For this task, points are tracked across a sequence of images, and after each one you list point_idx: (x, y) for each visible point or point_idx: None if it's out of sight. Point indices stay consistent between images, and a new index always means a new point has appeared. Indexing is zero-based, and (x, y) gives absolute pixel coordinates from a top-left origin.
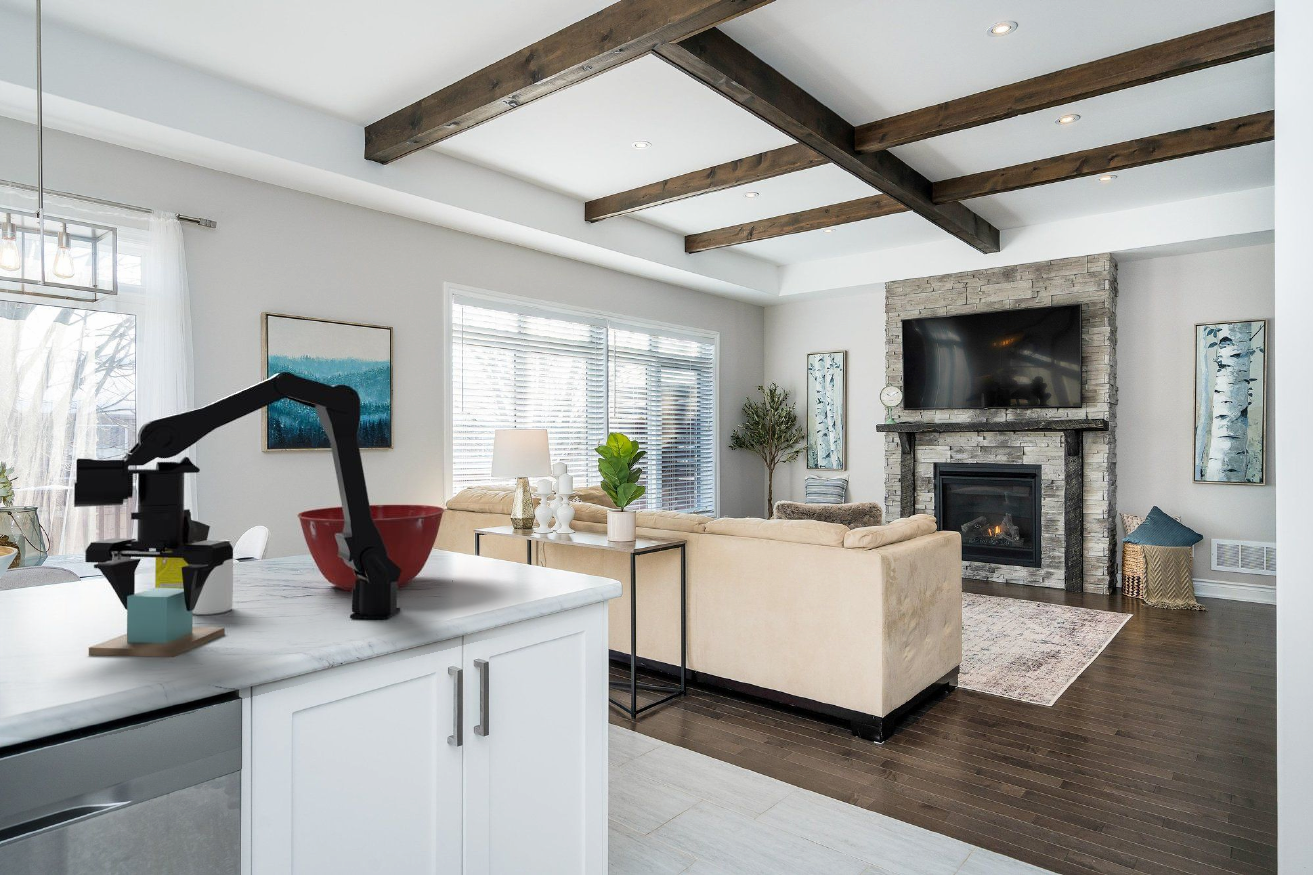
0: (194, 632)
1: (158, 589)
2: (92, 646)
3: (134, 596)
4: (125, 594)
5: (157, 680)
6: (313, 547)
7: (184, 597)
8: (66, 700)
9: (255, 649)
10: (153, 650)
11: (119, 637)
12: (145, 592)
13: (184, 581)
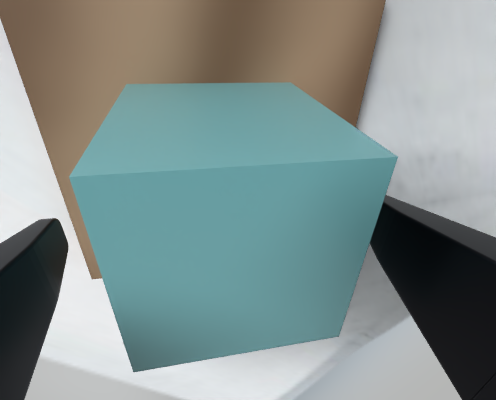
0: (299, 83)
1: (159, 223)
2: (91, 270)
3: (173, 363)
4: (37, 329)
5: (353, 328)
6: None
7: (393, 285)
8: (277, 389)
9: (486, 159)
10: None
11: (69, 182)
12: (153, 304)
13: (466, 390)
